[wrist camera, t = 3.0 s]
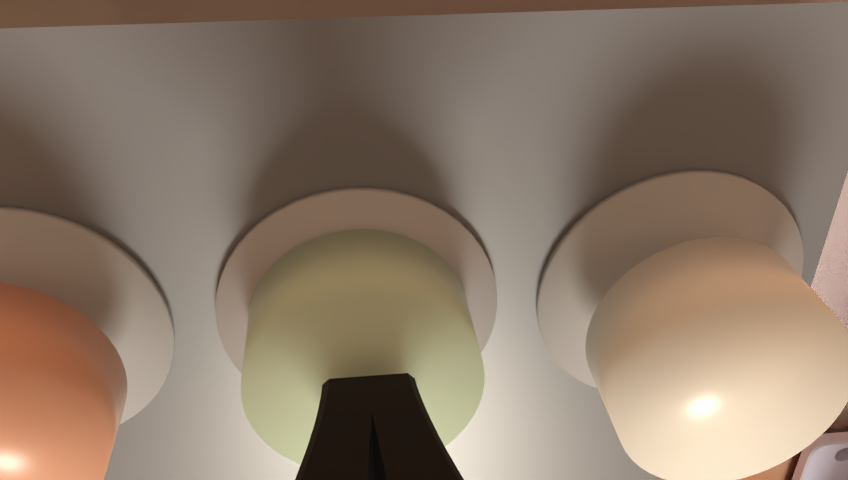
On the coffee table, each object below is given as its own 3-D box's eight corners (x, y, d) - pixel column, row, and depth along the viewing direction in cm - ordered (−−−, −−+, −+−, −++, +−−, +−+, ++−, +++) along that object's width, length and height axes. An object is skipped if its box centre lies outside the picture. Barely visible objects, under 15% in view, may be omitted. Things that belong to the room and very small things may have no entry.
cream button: (827, 230, 14) (891, 291, 12) (772, 403, 16) (820, 473, 14) (599, 243, 13) (635, 309, 12) (574, 419, 15) (602, 493, 14)
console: (820, -38, 15) (909, 3, 13) (708, 396, 21) (755, 477, 19) (-203, -11, 13) (-310, 42, 11) (-13, 453, 19) (-57, 550, 17)
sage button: (471, 223, 14) (490, 283, 12) (464, 395, 16) (480, 464, 14) (235, 236, 13) (224, 300, 12) (260, 411, 16) (254, 483, 14)
